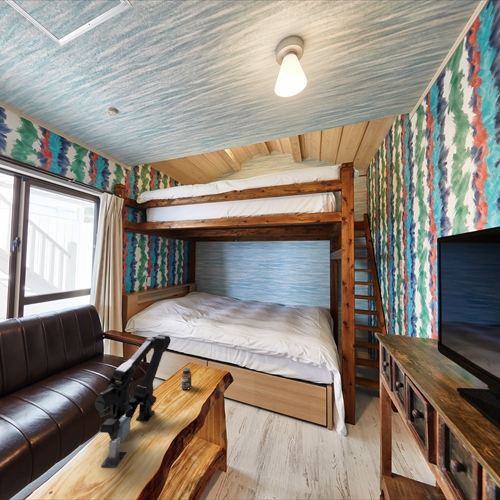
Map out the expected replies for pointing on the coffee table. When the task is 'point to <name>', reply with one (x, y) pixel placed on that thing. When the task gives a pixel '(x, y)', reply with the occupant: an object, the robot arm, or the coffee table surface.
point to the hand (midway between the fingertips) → (120, 433)
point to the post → (114, 454)
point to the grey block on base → (124, 428)
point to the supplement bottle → (186, 378)
